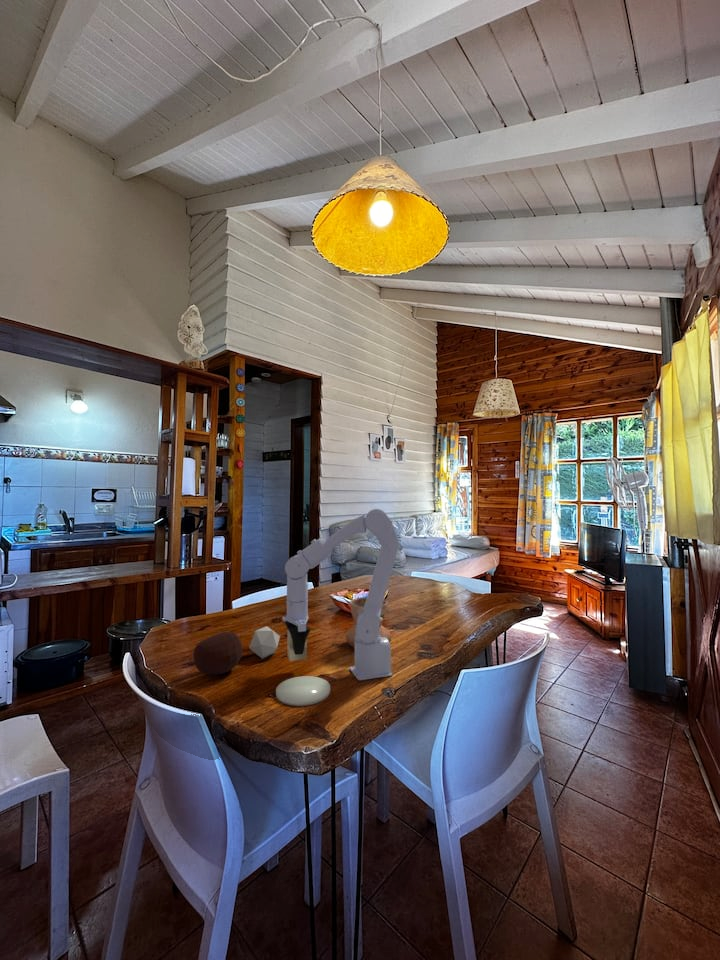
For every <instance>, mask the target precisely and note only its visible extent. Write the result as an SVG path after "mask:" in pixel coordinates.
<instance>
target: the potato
mask: <svg viewBox="0 0 720 960" xmlns="http://www.w3.org/2000/svg"><path fill="white" fill-rule="evenodd" d="M242 654H243V643H242V641H241V638H240V637H239V636H238V634H236V633H235V632H234V631H222V632H219V633H217V634H214V635H210V636H209V637H207V638H204V639H203V640H201V641H200V642H198V643H197V644H196V646H195V647H194V650H193V655H192V657H193V663H194V666H195V667H196V669H197V670H198V671H199V672H200V673H202V674H207V675H209V676H210V675H211V676H218V675H223V674H225V673H227V672H230V671H231V670H233V669H234V668H235V667H236V666H237V665H238V664H239V663H240V660H241V658H242Z"/></svg>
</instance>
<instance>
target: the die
mask: <svg viewBox="0 0 720 960" xmlns="http://www.w3.org/2000/svg"><path fill="white" fill-rule="evenodd" d="M280 638H281V636H280V635H279V634H277V632H275V631H274V630H272V629H271V628H270V627H269V626H263V627H262V628H259V629H257V630H255V631H254V634H253V637H252V638H251V642H250V644H249V648H248V649H250V651H252V653H253V652H254V653H255V654H256V655H257V656H258V657H260V658H261V659H262V660H263V659H265V658H267V657H269V656H271V655H273V654H275V652H276V650H277V649H278V646H279V641H280Z"/></svg>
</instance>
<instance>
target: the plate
mask: <svg viewBox="0 0 720 960" xmlns="http://www.w3.org/2000/svg"><path fill="white" fill-rule="evenodd" d="M330 694H331V684H330V683H329V682H328V681H327V680H326V679H324V678H321V677H317V676H314V675H313V676H311V675H309V676H308V675H307V676H306V675H305V676H304V675H303V676H295V677H291V678H287V679H285V680H284V681H282V682H281V683H279V684H278V686H277V687H276V688H275V697H276V699H277V700H278V701H279V702H280V703H283V704H285V705H288V706H295V707H296V706H297V707H305V706H311V705H315V704H319V703H321V702H323V701H324V700H326V699H327V698H328V697H329V696H330Z"/></svg>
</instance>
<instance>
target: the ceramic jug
mask: <svg viewBox="0 0 720 960" xmlns="http://www.w3.org/2000/svg"><path fill="white" fill-rule="evenodd" d="M366 599H367V596H366V597H364V596H363V597H362V596H361V597H356V598H352V599H351V600H350V601H349V607H350V613H351V615H352V619H353V621H354V625H353V626H352V627H350V629H348V630H347V632H346V635H345V639H346V642H347V643H348V645H349V646H351V648H354V649H355V636H356V632H355V630H356V626H357V617H358V615H359V614H360V613H361V612H362V610H363V608H364V605H365V602H366ZM387 609H388V601H387V600H385V599H384V601H383V605H382V608H381V614H380V619H379V630H380V632H379V635H380V636H381V637H386V638H387V639H388V641H389V643H390V644H391V640H392V634H391V631H389V629H387V628H386V627H385V626H383V625H382V623H384V619H385V616H386V613H387Z"/></svg>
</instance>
